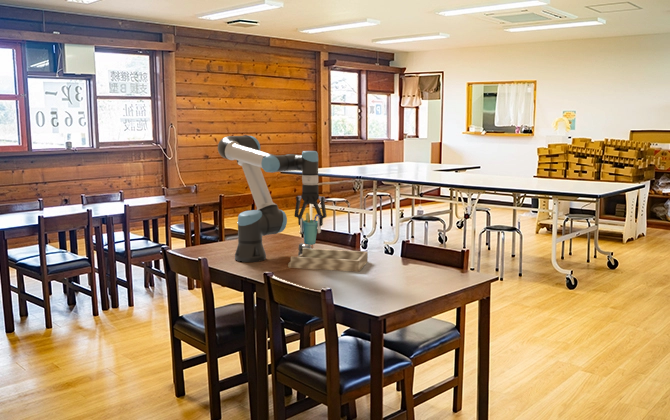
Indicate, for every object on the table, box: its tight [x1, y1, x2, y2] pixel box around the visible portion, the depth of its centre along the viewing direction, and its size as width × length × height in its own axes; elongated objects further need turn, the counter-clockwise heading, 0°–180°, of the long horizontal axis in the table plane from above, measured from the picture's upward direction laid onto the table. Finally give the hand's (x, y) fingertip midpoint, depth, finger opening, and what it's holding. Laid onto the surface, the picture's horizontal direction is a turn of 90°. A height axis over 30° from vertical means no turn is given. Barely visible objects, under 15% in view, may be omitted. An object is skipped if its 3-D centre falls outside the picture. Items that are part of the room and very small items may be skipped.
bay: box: [287, 248, 369, 273], centre depth 295 cm, size 33×20×5 cm, turn 76°
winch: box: [297, 242, 314, 257], centre depth 314 cm, size 7×5×8 cm
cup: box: [303, 212, 321, 246], centre depth 295 cm, size 14×8×15 cm, turn 37°
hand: (310, 232), depth 295 cm, fingers closed on cup, 8 cm apart
